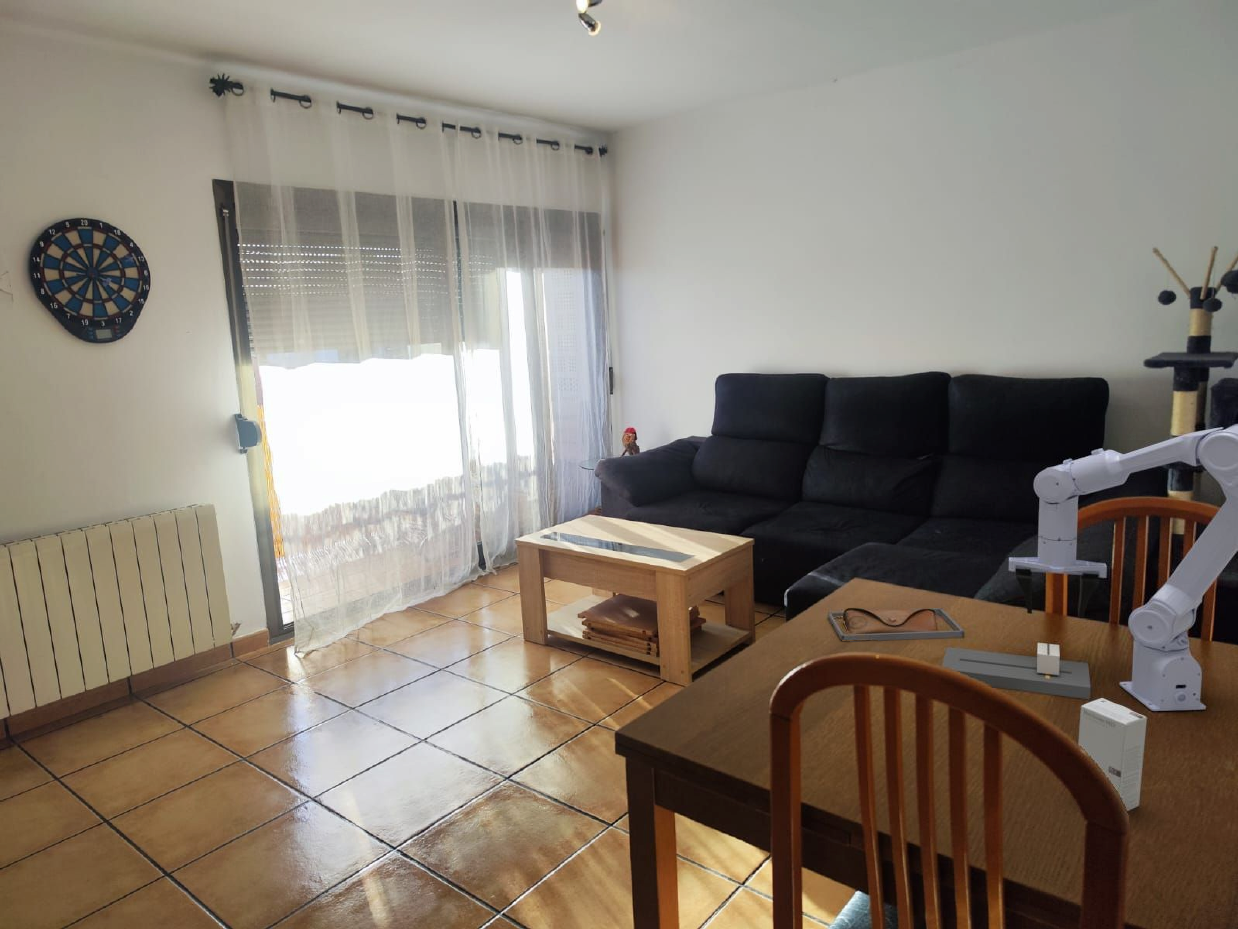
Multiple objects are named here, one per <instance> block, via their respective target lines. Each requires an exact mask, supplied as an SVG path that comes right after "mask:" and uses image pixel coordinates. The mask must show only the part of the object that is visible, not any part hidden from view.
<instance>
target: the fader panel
mask: <svg viewBox="0 0 1238 929" xmlns="http://www.w3.org/2000/svg"><path fill="white" fill-rule="evenodd" d="M942 666H943V667H948V668H950V669H952V670H955V671H958V672H960V673H962V674H965V675H968V676H969V677H971V678H975V679H977V680H979V681H982V682H985V683H986V684H989V685H991V686H992V687H991V688H999V689H1006V690H1007V689H1008V690H1015V691H1021V692H1029V693H1036V694H1037V693H1038V694H1043V695H1044V694H1045V695H1051V696H1059V697H1060V696H1061V697H1066V698H1067V697H1068V698H1074V699H1081V700H1083V699H1084V700H1089V701H1090V700H1091V691H1092V690H1091V678H1090V669H1089V663H1088V662H1081V661H1080V662H1079V661H1072V660H1071V661H1070V660H1064V659H1063V660H1062V659H1059V675H1054V674H1046V673H1038V672H1037V656H1028V655H1020V654H1011V653H1003V652H1002V653H1000V652H992V651H984V650H976V649H968V648H967V649H966V648H958V647H949V646H946V650H945V654H944V656H943V659H942V664H941V667H942Z"/></svg>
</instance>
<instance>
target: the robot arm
mask: <svg viewBox="0 0 1238 929" xmlns="http://www.w3.org/2000/svg"><path fill="white" fill-rule="evenodd" d="M1090 453H1091V455H1088V456H1085V457H1081V458H1078V459H1074V460H1073V459H1072V458H1069V459H1065V460H1063V462H1062V463H1061V464H1058V465H1055V466H1050V467H1046V468H1045V469H1043V470H1042V471H1040V472H1039V473H1037V475H1036V476H1035V478H1034V479H1033V490H1034V492H1035V494H1036V496H1037V497H1038V498H1039V504H1038V506H1039V509H1038V529H1037V530H1038V531H1037V532H1038V533H1037V534H1038V535H1037V536H1038V537H1037V538H1038V539H1037V541H1038V542H1037V556H1031V557H1028V556H1027V557H1012V556H1011V557H1008V571H1009V572H1015V578H1016V580H1017V582H1018V584H1019V586H1020V589H1021V591H1022V595H1023V596H1024V600H1025V604H1026V611H1027V614H1033V600H1032V585H1033V584H1032V583H1033V580H1032V576H1033V573H1032V572H1034V573H1046V574H1047V573H1049V574H1064V575H1077V576H1078V575H1079V597H1078V607H1077V615H1078V616H1077V617H1078V619H1084V617H1085V616H1084V615H1085V611H1086V608H1087V605H1088V603H1089V601H1090V599H1091V597H1092V595H1093V594H1094V592H1095V590H1096V589H1097V588H1098V585H1099V583H1100V578H1102V579H1104V578H1105V579H1106V578H1107V573H1108V572H1107V571H1108V570H1107V569H1108V568H1107V567H1108V566H1107V564H1106V563H1105V562H1104V563H1103V562H1095V561H1087V560H1080V559H1077V545H1078V542H1077V541H1078V540H1077V539H1078V519H1079V518H1078V514H1079V512H1078V511H1079V504H1078V502H1079V496H1082V495H1088V494H1091V493H1095V492H1099V491H1103V490H1106V489H1110V488H1114V487H1117V486H1120V485H1121V486H1122V485H1123V484H1125V482H1126V481H1127V479H1128V477H1129V476H1130V474H1132V473H1136V472H1141V471H1144V470H1145V471H1146V470H1149V469H1152V468H1156V467H1160V466H1164V465H1168V464H1172V463H1176V462H1183V463H1186V464H1187V465H1189V466H1192V467H1197V466H1201V465H1202V467H1203V468H1204V469H1206V471H1207V473H1209V474H1210V475H1211V476H1212V477H1213V478H1214V479H1215V481H1217V483H1218V484H1219V485H1220V487H1221V489H1222V492H1223V494H1224V496H1225V498H1226V500H1225V502H1224V503H1223V504H1222V506H1221V507H1220V508H1219V509H1218V511H1217V513H1215V515H1214V516H1213V518H1212V519H1211V521H1210V522H1209V523H1208V525H1207V526H1206V528H1205V529H1204V530H1203V532H1202V533H1201V534H1200V535H1199V537H1198V538H1197V540H1196V541H1195V542H1194V544H1193V545H1192V547H1191V548H1190V550H1188V552H1187V553H1186V555H1185V556H1184V558H1183V559H1182V561H1181V562H1180V563H1179V564H1178V566H1177V567H1176V569H1175V570H1174V572H1173V573H1172V574H1171V575H1170V576H1169V578H1168V579H1167V581H1166V582H1165V583H1164V584H1163V585H1162V587H1160V588H1159V590H1157V591H1156V592H1155V594H1154V595H1153V596H1151V598H1150V599H1149V601H1148V602H1147V603H1145V605H1142V606H1140V607H1137V608H1135V609H1134V610H1132V612H1131V614H1130V615H1129V617H1128V623H1127V625H1128V630H1129V631H1130V633H1131V635H1132V636H1133V652H1132V672H1131V681H1120V682H1119V686H1120V687H1122V688H1123V689H1124V690H1125V691H1127V693H1129V694H1130V695H1131V696H1133V697H1134V698H1135V699H1137V701H1139V702H1140V703H1142V704H1143V705H1144V706H1146V707H1147V709H1148V710H1150V711H1153V712H1158V711H1161V712H1162V711H1192V710H1193V711H1197V710H1206V708H1207V706H1206V705H1205V704H1204V703H1202V702H1201V692H1202V691H1201V689H1202V677H1203V675H1202V674H1203V672H1202V667H1201V666H1200V663H1198V661H1197V660H1196V659H1195V658H1194V657H1193V655H1192V653H1191V651H1190V640H1189V636H1188V633H1187V630H1189V629H1191V628H1192V627H1193V625H1194V624H1195V622H1196V617H1197V609H1198V607H1199V606H1200V604H1202V602H1203V596H1204V595H1205V593H1207V592H1208V590H1209V588H1210V587H1211V586H1212V585H1213V584H1214V582H1215V581H1216V579H1217V578H1218V577H1219V576H1220V575H1221V573H1222V572H1223V570H1224V569H1225V568H1226V567H1227V565H1228V563H1229V562H1230V561H1231V560H1232V558H1233V557H1234V556H1235V555H1236V554H1237V552H1238V423H1235V424H1233V425H1231V426H1228V427H1227V428H1225V429H1224V427H1216V428H1210V429H1206V430H1205V429H1204V430H1199V431H1194V432H1189V433H1186V434H1182V435H1179V436H1176V437H1173V438H1170V439H1167V440H1164V441H1161V442H1158V443H1155V444H1151V445H1149V446H1146V447H1143V448H1139V449H1137V450H1134V451H1130V452H1128V453H1124V454H1123V453H1121V452H1118V451H1116V450H1113V449H1107V450H1104V449H1103V448H1098V449H1094V450H1092V451H1091V452H1090Z"/></svg>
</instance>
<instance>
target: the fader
mask: <svg viewBox="0 0 1238 929" xmlns="http://www.w3.org/2000/svg"><path fill="white" fill-rule="evenodd" d="M1036 652H1037V653H1036V654H1037V656H1036V657H1037V672H1038V673H1046V674H1054V675H1059V660H1061V659H1060V644H1052V643H1044V642H1037V651H1036Z"/></svg>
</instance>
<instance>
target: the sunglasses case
mask: <svg viewBox="0 0 1238 929" xmlns="http://www.w3.org/2000/svg"><path fill="white" fill-rule="evenodd" d="M909 609H910V608H908V609H905V608H904V609H903V608H902V609H901V608H861V607H848V608H845V610H844V611H843V612H844V614H843V618H842V620H843V621H845V625H846V627H847V630H848V631H849V633H852V634H878V633H905V632H932V631H939V630H938V626H937V624H938V623H937V620H936V615H935V611H934V610H932V609H931V608H917V609H918V610H909ZM843 621H842V622H843ZM845 625H844V626H845ZM847 630H846V631H847Z"/></svg>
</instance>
